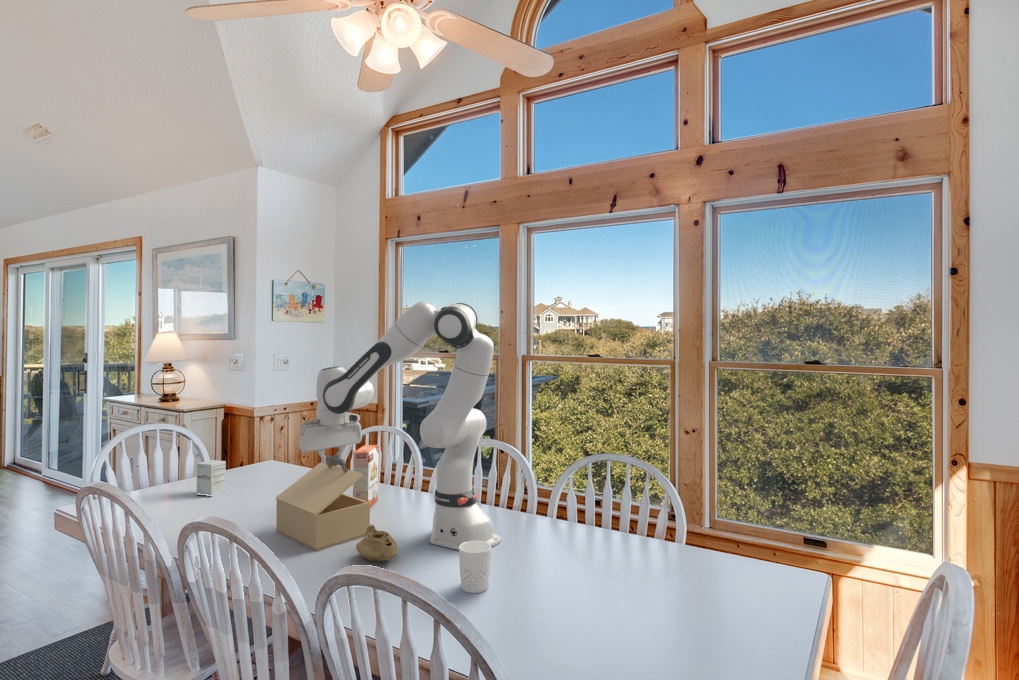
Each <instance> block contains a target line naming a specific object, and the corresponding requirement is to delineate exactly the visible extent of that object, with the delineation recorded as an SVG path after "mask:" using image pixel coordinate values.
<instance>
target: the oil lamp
mask: <svg viewBox="0 0 1019 680" xmlns="http://www.w3.org/2000/svg"><path fill="white" fill-rule="evenodd" d="M355 549H356V551H357V552H358V553H359V555H361V556H362V557H364V559H366V560H368V561H370V562H383V561H385V562H387V561H391V560H393V559H394V558H396V556H397V554H398V542H397V541H396V540H395V539H394V538H393V537H392V535H391V534H390V533H389V532H388V531H384V530H377V529H376V528H375V525H374V524H372V523H371V524H370V525H369V526H368V527H367V531H366V535H365V536H364V537H362V539H361V540H360V541H358V542H357V543H356V545H355Z"/></svg>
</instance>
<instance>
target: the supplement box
mask: <svg viewBox="0 0 1019 680" xmlns="http://www.w3.org/2000/svg"><path fill="white" fill-rule="evenodd" d="M226 466H227V463H226V460H216V459H208V460H204V461H201V462H197V463H196V494H197V493H200V494H208V495H212V494H216V493H219V492H222V491H225V492H226V479H227V478H226V477H227V474H226V473H227V472H226Z"/></svg>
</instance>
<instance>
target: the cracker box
mask: <svg viewBox="0 0 1019 680" xmlns="http://www.w3.org/2000/svg"><path fill="white" fill-rule="evenodd" d="M379 450H380V446H379V445H377V444H370V445H369V444H364V445H362V446H361V447H360V448H358V449H357V450H355V451H354V452H353V467H352V468H353V469H352V471H356V472H359V473H362V474H363V476H362V477H361V478H360V479H359V480H358V481H356V482H355V483H354V484H353V485H352V497H355V498H358V499H361V500H364V501H367V502H370V508H372V507H373V505H374V504H375V503H376V502H377V501H378V499H379V456H380V455H379Z"/></svg>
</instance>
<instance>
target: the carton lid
mask: <svg viewBox="0 0 1019 680" xmlns="http://www.w3.org/2000/svg"><path fill="white" fill-rule="evenodd" d="M324 455H325V456H326V457H328V463H322V462H321V461H319V463H318V464H316V465H315V466H314V467H313V468H312V469H311V470H309V471H307V472H306V473H305V474H304V475H303V476H301V477H300V478H298V479H297V480H296V481H295V482H294V483H292V484H291V485H290V486H289V487H287V488H286V489H284V490H283V491H282V492H281V493H280V494H277V496H276V497H275V500H276V501H277V500H278V501H280V502H283V503H285V504H288V505H290V506H293V507H295V508H297V509H300V510H302V511H305V512H307V513H310V514H312V515H315V516H317V515H318V514H319V513H320V512H322V511H323V510H324V509H325V508H326V507H327V506H329V505H330V504H331V503H332V502H333V501H334V500H336V499H337V498H338V497H339V496H340V495H341V494H345V492H346V491H348V490H349V489H350V488H351V487H353V484H354V483H355V482H356V481H358V480H359V479H360V478H361V477H362V476H363V474H362V473H359V472H356V471H353V469H349V468H348V467H347V466H346V463H347V462H346V460H345V459H344V458H342V459H340V458H336V457H335V456H333V455H328V454H324Z"/></svg>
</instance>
